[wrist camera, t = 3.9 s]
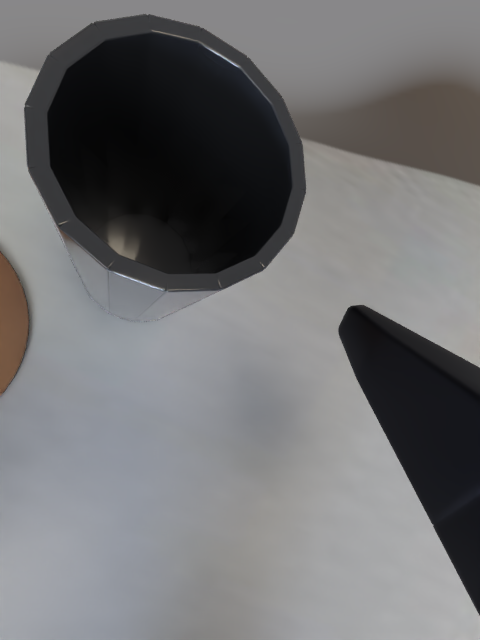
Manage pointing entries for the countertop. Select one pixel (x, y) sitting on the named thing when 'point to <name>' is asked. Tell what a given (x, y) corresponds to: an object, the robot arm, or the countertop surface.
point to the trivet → (11, 323)
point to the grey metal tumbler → (162, 163)
